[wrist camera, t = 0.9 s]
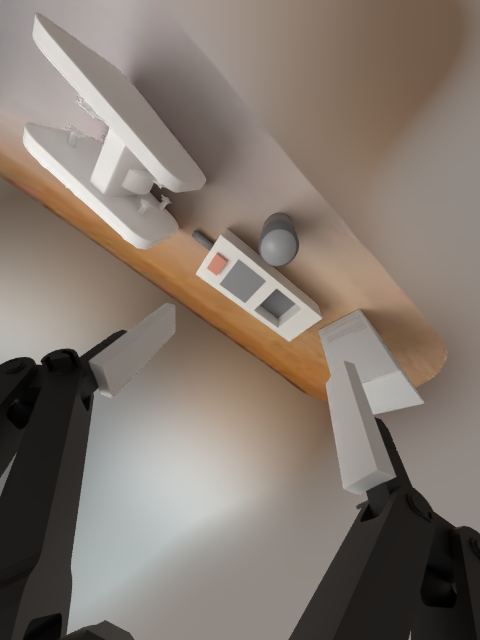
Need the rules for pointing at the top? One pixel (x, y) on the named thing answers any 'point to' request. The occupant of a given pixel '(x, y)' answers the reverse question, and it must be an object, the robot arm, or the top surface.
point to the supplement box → (368, 362)
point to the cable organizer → (111, 145)
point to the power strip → (256, 286)
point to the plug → (278, 240)
